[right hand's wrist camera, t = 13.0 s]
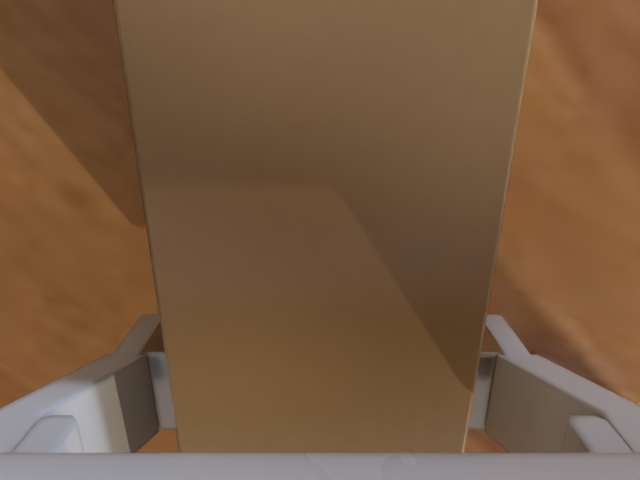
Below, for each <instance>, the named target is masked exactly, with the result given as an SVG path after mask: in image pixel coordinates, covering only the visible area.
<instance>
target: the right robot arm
mask: <svg viewBox="0 0 640 480" xmlns="http://www.w3.org/2000/svg"><path fill="white" fill-rule="evenodd" d="M159 429H176V426H175V419H174V413H173V406H172V399H171V392H170V385H169V378H168V371H167V365H166V358H165V351H164V344H163V337H162V330H161V324H160V317H159V314H147V315H142V316H141V317H140V318H139V319H138V321H137V322H136V324H135V325H134V326H133V328H132V329H131V330H130V332H129V333H128V335H127V336H126V337H125V339H124V340H123V342H122V343H121V344H120V346H119V347H118V348H117V350H116V351H115V353H114V354H113V355H105V356H103V357H101V358H99V359H97V360H95V361H93V362H91V363H89V364H87V365H85V366H83V367H81V368H79V369H77V370H75V371H73V372H71V373H69V374H67V375H65V376H63V377H61V378H59V379H57V380H55V381H53V382H51V383H49V384H47V385H45V386H43V387H41V388H39V389H37V390H35V391H33V392H31V393H29V394H27V395H25V396H23V397H21V398H19V399H18V400H16V401H14V402H12V403H10V404H8V405H6V406H4V407H2V408H0V480H640V406H639V405H637V404H635V403H633V402H631V401H629V400H627V399H625V398H623V397H621V396H619V395H617V394H615V393H613V392H611V391H609V390H607V389H605V388H603V387H601V386H599V385H597V384H595V383H593V382H591V381H589V380H587V379H585V378H583V377H581V376H579V375H577V374H575V373H573V372H571V371H569V370H567V369H565V368H563V367H561V366H559V365H557V364H555V363H553V362H551V361H549V360H547V359H545V358H543V357H541V356H539V355H531V354H530V353H529V352H528V350H527V349H526V348H525V346H524V345H523V344H522V342H521V341H520V339H519V338H518V337H517V335H516V334H515V333H514V331H513V330H512V329H511V327H510V326H509V325H508V323H507V322H506V321H505V319H504V318H503V317H502V316H501V315H499V314H487V317H486V324H485V330H484V336H483V342H482V348H481V354H480V360H479V366H478V372H477V379H476V385H475V391H474V397H473V403H472V409H471V415H470V421H469V428H468V429H484V430H485V432H486V433H487V434H488V435H489V436H490V437H492V438H493V439H494V440H495V441H496V442H497V443H498V444H499V445H500V446H502V447H503V448H504V449H505V450H506V451H507V452H508V453H136V452H137V451H138V450H139V449H140V448H141V447H142V446H143V445H145V444H146V443H147V442H148V441H149V440H150V439H151V438H152V437H153V436H154V435H156V434H157V433H158V432H159Z"/></svg>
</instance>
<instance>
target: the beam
mask: <svg viewBox="0 0 640 480" xmlns="http://www.w3.org/2000/svg"><path fill="white" fill-rule="evenodd" d="M113 2H114V9H115V16H116V22H117V29H118V36H119V43H120V50H121V57H122V63H123V70H124V77H125V84H126V91H127V98H128V105H129V111H130V118H131V125H132V132H133V139H134V146H135V152H136V159H137V166H138V173H139V180H140V187H141V194H142V200H143V207H144V214H145V221H146V228H147V235H148V241H149V248H150V255H151V262H152V269H153V276H154V282H155V289H156V296H157V303H158V310H159V317H160V324H161V330H162V337H163V344H164V351H165V358H166V365H167V371H168V378H169V385H170V392H171V399H172V406H173V413H174V419H175V426H176V433H177V440H178V447H179V453H464V452H465V446H466V440H467V434H468V428H469V421H470V415H471V409H472V403H473V397H474V391H475V385H476V379H477V372H478V366H479V360H480V354H481V348H482V342H483V336H484V330H485V324H486V317H487V311H488V305H489V299H490V293H491V287H492V281H493V275H494V268H495V262H496V256H497V250H498V244H499V238H500V232H501V226H502V220H503V213H504V207H505V201H506V195H507V189H508V183H509V177H510V171H511V165H512V158H513V152H514V146H515V140H516V134H517V128H518V122H519V116H520V109H521V103H522V97H523V91H524V85H525V79H526V73H527V67H528V61H529V54H530V48H531V42H532V36H533V30H534V24H535V18H536V12H537V5H538V0H113Z"/></svg>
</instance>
